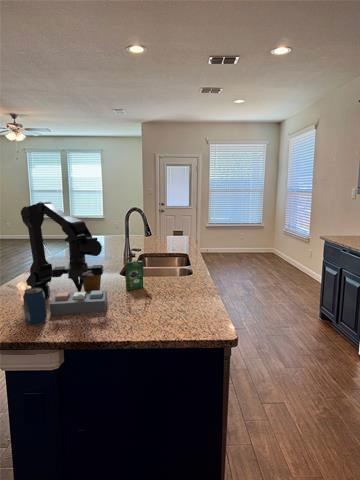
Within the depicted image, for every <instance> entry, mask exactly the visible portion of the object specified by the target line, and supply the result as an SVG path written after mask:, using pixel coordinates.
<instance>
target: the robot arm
mask: <svg viewBox="0 0 360 480" xmlns="http://www.w3.org/2000/svg"><path fill="white" fill-rule="evenodd" d="M45 216H47V217H48V218H49V219H50V220H52V221H54V222H55V223H56V224H58V226H60V227H61V230H62V232H63V233H64V234H65V235H66V236H67V237H66V238H64V242H68V254H69V262H68V266H67V267H68V268H66V266H65V265H64V266H55V267H54V268H53V265H52V263H49V262H48V260H47V258H46V252H45V245H44V239H43V232H42V231H43V230H42V225H43V223H44V221H45ZM20 217H21V219H22V222H23V224H24V225H25V226H26V227H27V229H28V237H29V243H30V249H31V250H30V251H31V256H32V257H31V258H32V263H31V265H30V268H29V270H30V271H29V275H28V277H27V278H26V280H25V283H26V286H28V287H30V288H36V287H39V288H42V289H43V291H44V293H45V300H46V299H48V298H49V296H50V295H51V290H50V285H49V283H51V282H52V278H61V277H62V276H63V275H65V274H68V275H67V276H68V277H67V279H69V280H71V281H72V282H73V284H74V286H75V287H76V290H77V292H82V288H83V282H84V279H85V278H87V277H88V275H89V273H92V274H93V275H101V276H103V273H104V265H102V264H94V265H93V264H92V266H93V267H92V268H88V266H89V265H88V262H86V256H91V257H99V255H100V254H101V252H102V249H103V246H102V244H101V242H100V241H98V238H97V237H93V235H92V234H91V232H90V230H89V229H88V227H87V225H86V222H85V221H83V220H82V219H80V218H76V217H74V216H73V217H72V216H69V215H68V214H66V213H65V212H63V210H61V209H59V208H58V207H57V206H55V205H54V204H53V203H52V202H51V201H39V202H37V203H35V204H32V205H29V206H23V207H22V209H21V210H20Z"/></svg>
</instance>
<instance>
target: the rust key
mask: <svg viewBox="0 0 360 480" xmlns="http://www.w3.org/2000/svg"><path fill="white" fill-rule="evenodd" d="M69 293H70V292H69V291H67V292H62V291H61V292H56V294H57V295H56V294H55V295H56V296H55V295H54V297H55V300H56V301H57V300H68V299H69V297H70V295H69Z"/></svg>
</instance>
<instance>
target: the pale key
mask: <svg viewBox="0 0 360 480" xmlns="http://www.w3.org/2000/svg"><path fill="white" fill-rule="evenodd" d="M74 299H86V292H84V291H81V292H78V291H75V293H74V295H73V300H74Z"/></svg>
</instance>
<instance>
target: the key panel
mask: <svg viewBox="0 0 360 480" xmlns="http://www.w3.org/2000/svg"><path fill="white" fill-rule="evenodd" d="M75 292H76V291H75ZM75 292H69V295H70V297H69V299H68V300H57V301H56V300H55V296H56V295H57V293H56V294H55V295H54V297H53V298H52V300H51V301H50V302H49V313H50V316H62V315H61V314H66V315H79V314H80V313H81V314H95V313H106V308H107V303H108V290H103V298H91V299H90V294H91V291H89V292H86V299H74V300H73V295H74V293H75ZM81 314H80V315H81Z"/></svg>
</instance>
